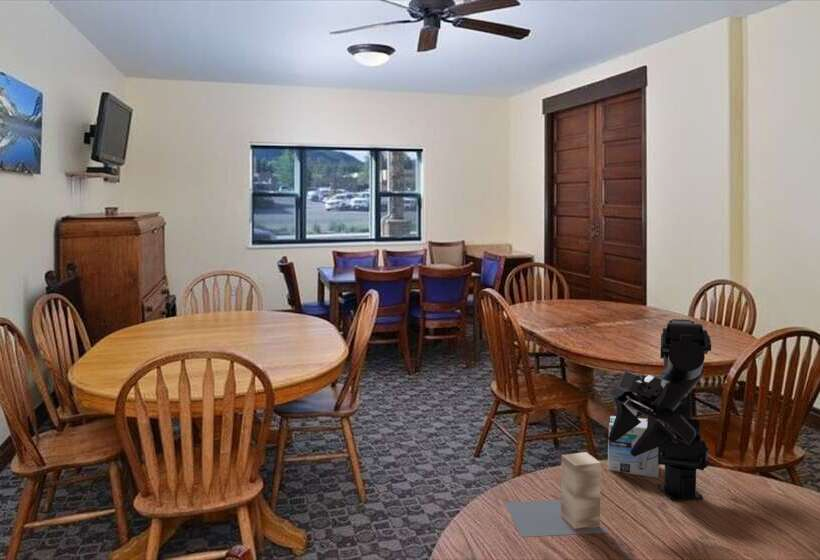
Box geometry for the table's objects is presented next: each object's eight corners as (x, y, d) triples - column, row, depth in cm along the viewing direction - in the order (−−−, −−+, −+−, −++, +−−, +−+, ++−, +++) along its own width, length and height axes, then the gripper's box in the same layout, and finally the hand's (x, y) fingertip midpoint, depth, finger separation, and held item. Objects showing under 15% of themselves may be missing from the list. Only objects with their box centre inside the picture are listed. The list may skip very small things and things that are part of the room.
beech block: (585, 513, 112) (586, 452, 111) (599, 526, 107) (600, 462, 106) (561, 517, 111) (561, 455, 110) (574, 530, 106) (575, 465, 105)
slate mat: (504, 504, 118) (504, 502, 117) (581, 500, 118) (581, 498, 118) (520, 539, 105) (520, 537, 105) (607, 534, 106) (607, 532, 106)
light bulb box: (607, 471, 132) (608, 424, 130) (608, 460, 138) (609, 414, 137) (660, 478, 128) (661, 429, 127) (658, 465, 134) (659, 419, 133)
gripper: (618, 345, 118) (567, 405, 117) (682, 368, 100) (623, 438, 99) (652, 381, 121) (603, 440, 120) (720, 409, 103) (663, 478, 102)
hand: (620, 447), depth 110 cm, fingers open, 7 cm apart
